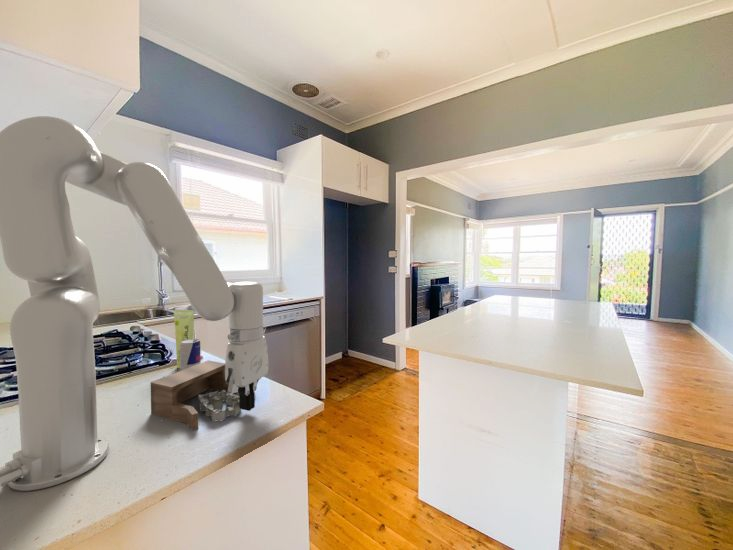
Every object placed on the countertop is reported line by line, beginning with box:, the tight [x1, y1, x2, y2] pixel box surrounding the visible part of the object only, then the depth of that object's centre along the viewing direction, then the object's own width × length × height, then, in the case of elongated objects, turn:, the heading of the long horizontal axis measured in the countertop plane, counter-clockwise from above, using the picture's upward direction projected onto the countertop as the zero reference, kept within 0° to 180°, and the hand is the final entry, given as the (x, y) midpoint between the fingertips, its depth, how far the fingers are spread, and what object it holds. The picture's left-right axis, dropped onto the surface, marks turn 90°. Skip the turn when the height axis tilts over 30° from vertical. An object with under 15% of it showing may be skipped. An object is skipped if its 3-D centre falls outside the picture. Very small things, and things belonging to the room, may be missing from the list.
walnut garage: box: [150, 360, 239, 431], centre depth 76 cm, size 19×16×8 cm
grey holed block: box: [197, 390, 242, 422], centre depth 74 cm, size 11×8×4 cm
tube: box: [173, 309, 195, 369], centre depth 101 cm, size 6×5×20 cm
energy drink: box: [179, 338, 202, 371], centre depth 91 cm, size 5×5×12 cm
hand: (247, 408), depth 72 cm, fingers closed
